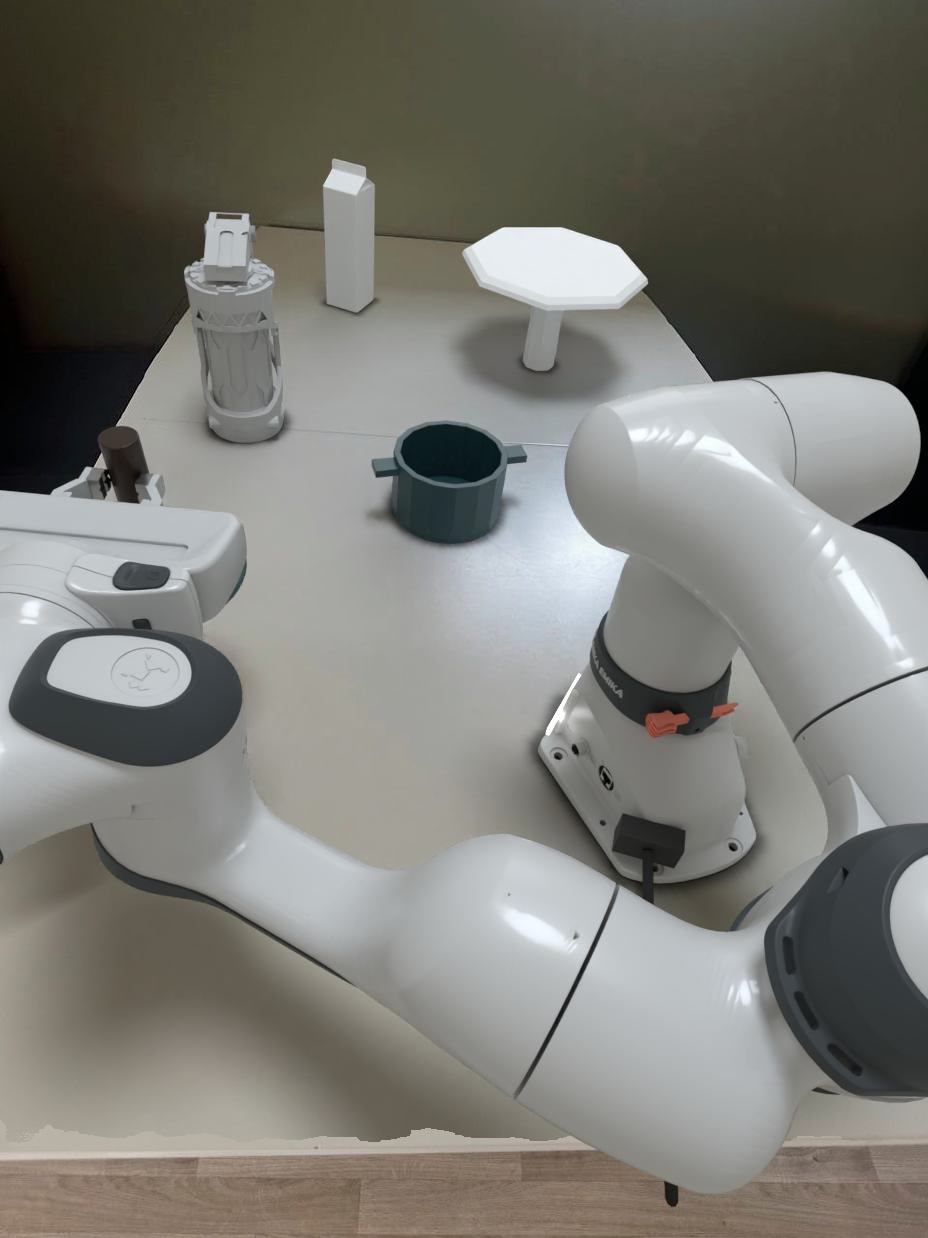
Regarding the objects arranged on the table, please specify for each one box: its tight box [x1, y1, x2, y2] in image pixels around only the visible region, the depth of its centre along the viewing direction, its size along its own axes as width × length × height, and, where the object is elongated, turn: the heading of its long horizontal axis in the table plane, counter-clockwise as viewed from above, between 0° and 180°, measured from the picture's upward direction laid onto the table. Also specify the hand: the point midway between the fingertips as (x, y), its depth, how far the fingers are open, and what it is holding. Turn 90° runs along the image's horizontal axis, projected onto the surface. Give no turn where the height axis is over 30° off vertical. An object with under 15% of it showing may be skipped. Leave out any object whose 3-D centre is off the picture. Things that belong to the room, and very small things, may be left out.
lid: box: [97, 425, 248, 605], centre depth 63 cm, size 15×15×14 cm
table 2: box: [461, 226, 649, 372], centre depth 124 cm, size 28×28×17 cm
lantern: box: [183, 211, 286, 444], centre depth 102 cm, size 13×10×25 cm
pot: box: [371, 420, 528, 544], centre depth 99 cm, size 14×19×8 cm
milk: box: [322, 158, 376, 314], centre depth 130 cm, size 6×6×22 cm
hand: (127, 477), depth 60 cm, fingers closed on lid, 3 cm apart
